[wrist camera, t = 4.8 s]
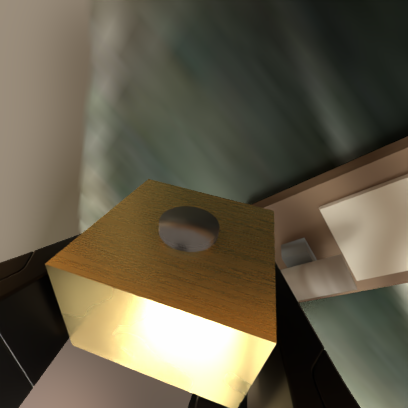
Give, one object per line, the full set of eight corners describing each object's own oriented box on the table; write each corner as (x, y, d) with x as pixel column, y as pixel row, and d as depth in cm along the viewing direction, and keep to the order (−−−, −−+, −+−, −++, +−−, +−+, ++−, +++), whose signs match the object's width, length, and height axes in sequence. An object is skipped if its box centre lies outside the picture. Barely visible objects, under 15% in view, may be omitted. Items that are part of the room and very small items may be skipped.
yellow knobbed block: (249, 279, 10) (234, 414, 6) (148, 248, 11) (74, 349, 7) (276, 204, 8) (281, 335, 4) (148, 172, 9) (41, 254, 5)
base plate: (297, 290, 23) (304, 345, 18) (244, 207, 20) (236, 248, 15) (545, 237, 15) (671, 310, 10) (521, 86, 12) (683, 92, 7)
